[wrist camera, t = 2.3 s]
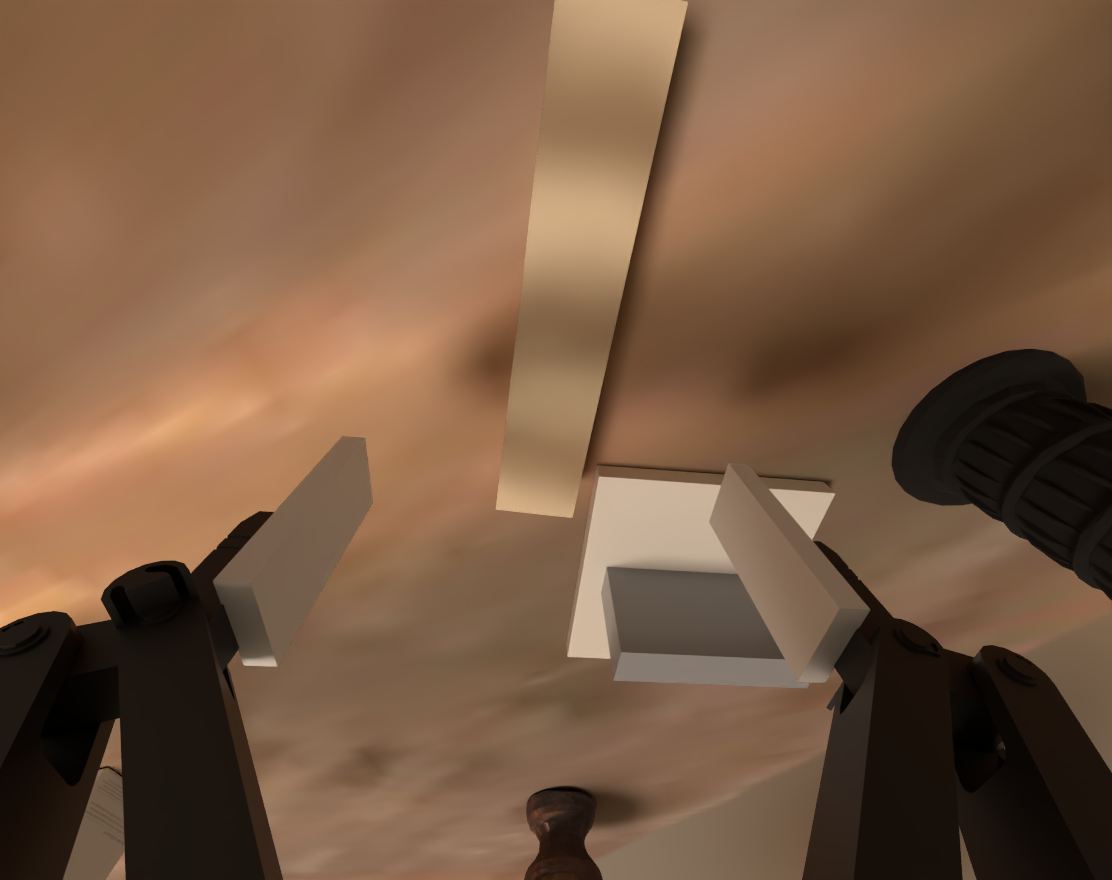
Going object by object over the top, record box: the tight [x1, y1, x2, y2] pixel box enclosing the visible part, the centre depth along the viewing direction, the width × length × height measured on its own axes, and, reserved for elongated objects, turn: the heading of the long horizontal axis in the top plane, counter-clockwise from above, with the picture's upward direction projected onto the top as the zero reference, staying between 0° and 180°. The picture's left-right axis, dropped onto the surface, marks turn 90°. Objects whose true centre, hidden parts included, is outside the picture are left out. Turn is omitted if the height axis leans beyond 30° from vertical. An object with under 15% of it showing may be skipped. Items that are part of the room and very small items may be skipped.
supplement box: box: [63, 768, 125, 880], centre depth 36 cm, size 7×7×13 cm
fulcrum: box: [567, 465, 835, 688], centre depth 26 cm, size 16×14×7 cm
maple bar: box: [496, 0, 688, 518], centre depth 19 cm, size 20×4×4 cm, turn 171°
